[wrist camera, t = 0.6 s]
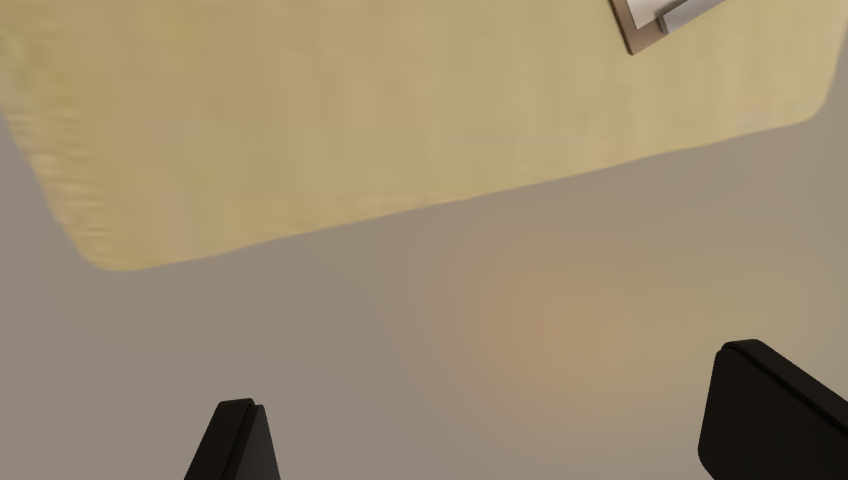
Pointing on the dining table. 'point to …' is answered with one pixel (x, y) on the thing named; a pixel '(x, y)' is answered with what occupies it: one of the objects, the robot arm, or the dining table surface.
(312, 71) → the dining table surface
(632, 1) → the clipboard
